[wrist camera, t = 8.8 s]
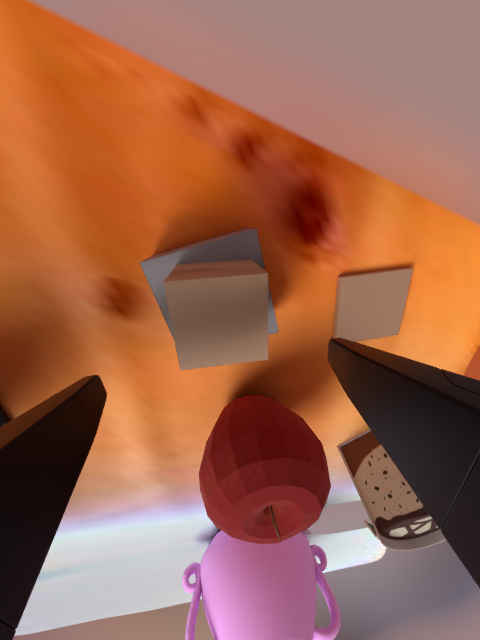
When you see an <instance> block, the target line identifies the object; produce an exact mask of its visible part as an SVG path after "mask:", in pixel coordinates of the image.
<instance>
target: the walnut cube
mask: <svg viewBox="0 0 480 640" xmlns="http://www.w3.org/2000/svg"><path fill="white" fill-rule="evenodd" d="M163 283H164V288H165V293H166V299H167V304H168V309H169V314H170V319H171V324H172V330H173V335H174V340H175V345H176V350H177V356H178V361H179V366H180V370H187V369H195V368H203V367H212V366H220V365H228V364H237V363H245V362H253V361H261V360H268V273H267V272H266V271H265V270H263V269H262V268H261V267H260V266H259V265H257V264H256V263H255V262H254V261H252V260H251V259H241V260H228V261H214V262H201V263H187V264H177V265H176V266H175V267H174V269H173V270H172V271H171V272H170V274H169V275H168V276H167V278H166V279H165V280H164V281H163Z"/></svg>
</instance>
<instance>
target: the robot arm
mask: <svg viewBox="0 0 480 640" xmlns="http://www.w3.org/2000/svg"><path fill="white" fill-rule="evenodd" d="M328 361H329V363H330V365H331V367H332V369H333V371H334V372H335V374H336V376H337V378H338V380H339V382H340V384H341V385H342V387H343V389H344V391H345V392H346V394H347V396H348V397H349V399H350V400H351V402H352V403H353V404H354V406H355V407H356V409H357V410H358V412H359V413H360V415H361V416H362V418H363V419H364V420H365V422H366V423H367V425H368V426H369V428H370V429H371V431H372V432H373V434H374V435H375V436H376V438H377V439H378V441H379V442H380V444H381V445H382V447H383V448H384V450H385V451H386V452H387V454H388V455H389V457H390V458H391V460H392V461H393V463H394V464H395V465H396V467H397V468H398V470H399V471H400V473H401V474H402V476H403V477H404V479H405V480H406V481H407V483H408V484H409V486H410V487H411V489H412V490H413V492H414V493H415V495H416V496H417V497H418V499H419V500H420V502H421V503H422V505H423V506H424V508H425V509H426V511H427V512H428V513H429V515H430V516H431V518H432V519H433V521H434V522H435V524H436V525H437V526H438V528H439V529H441V530H440V531H441V533H442V534H443V536H444V537H445V538H446V540H447V541H448V543H449V544H450V545H451V547H452V549H453V550H454V552H455V553H456V554H457V556H458V557H459V559H460V560H461V562H462V563H463V565H464V566H465V567H466V569H467V570H468V572H469V573H470V575H471V576H472V578H473V579H474V581H475V582H476V583H477V585H478V586H479V588H480V381H479V380H476V379H473V378H469V377H466V376H463V375H459V374H456V373H453V372H450V371H446V370H443V369H441V370H440V369H439V368H437V367H433V366H430V365H427V364H424V363H420V362H417V361H414V360H411V359H408V358H404V357H401V356H398V355H395V354H392V353H388V352H385V351H382V350H379V349H376V348H372V347H369V346H366V345H363V344H359V343H356V342H353V341H350V340H347V339H343V338H333V339H330V340H329V345H328ZM106 398H107V393H106V390H105V388H104V385H103V383H102V381H101V378H100V377H99V376H98V375H92V376H86V377H84V378H82V379H80V380H79V381H77V382H75V383H74V384H72V385H70V386H69V387H67V388H65V389H64V390H62V391H60V392H59V393H57V394H55V395H54V396H52V397H50V398H49V399H47V400H45V401H44V402H42V403H40V404H38V405H37V406H35V407H33V408H32V409H30V410H28V411H27V412H25V413H23V414H22V415H20V416H18V417H17V418H15V419H13V420H12V421H9V419H8V418H7V417H6V415H5V414H4V412H3V411H2V410H1V408H0V640H12V639H13V637H14V635H15V632H16V630H15V629H16V628H17V627H18V624H19V622H20V619H21V617H22V615H23V612H24V610H25V607H26V605H27V602H28V600H29V597H30V595H31V593H32V590H33V588H34V585H35V583H36V580H37V578H38V576H39V573H40V571H41V568H42V566H43V563H44V561H45V558H46V556H47V554H48V551H49V549H50V546H51V544H52V541H53V539H54V536H55V534H56V532H57V529H58V527H59V524H60V522H61V519H62V517H63V515H64V512H65V510H66V507H67V505H68V502H69V500H70V497H71V495H72V493H73V490H74V488H75V485H76V483H77V480H78V478H79V475H80V473H81V471H82V468H83V466H84V463H85V461H86V458H87V456H88V454H89V451H90V449H91V446H92V444H93V441H94V438H95V436H96V433H97V429H98V426H99V423H100V419H101V416H102V412H103V409H104V406H105V402H106Z"/></svg>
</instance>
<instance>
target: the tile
mask: <svg viewBox="0 0 480 640" xmlns="http://www.w3.org/2000/svg"><path fill="white" fill-rule="evenodd" d="M412 271H413V268H409V267H406V268H398V269H391V270H383V271H376V272H368V273H360V274H353V275H345V276H338V283H337V295H336V307H335V319H334V330H333V338H343V339H347V340H350V341H353V342H355V341H362V340H368V339H375V338H381V337H387V336H394V335H398V334H399V330H400V325H401V321H402V316H403V312H404V307H405V303H406V298H407V293H408V289H409V284H410V280H411V275H412Z"/></svg>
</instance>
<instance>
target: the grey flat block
mask: <svg viewBox="0 0 480 640" xmlns="http://www.w3.org/2000/svg"><path fill="white" fill-rule="evenodd" d="M241 259H251V260H252V261H254V262H255V263H256V264H257V265H259V266H260V267H261V268H262V269H263V270H265V266H264V261H263V257H262V252H261V247H260V243H259V238H258V233H257V229H255V228H245V229H241V230H238V231H235V232H231V233H228V234H224V235H221V236H217V237H214V238H211V239H207V240H204V241H200V242H197V243H194V244H190V245H187V246H183V247H180V248H176V249H173V250H170V251H166V252H163V253H159V254H156V255H152V256H151V257H149V258H147V259H145V260H144V261H142V262H140V265H141V267H142V269H143V272H144V274H145V276H146V278H147V280H148V283H149V285H150V287H151V289H152V292H153V294H154V296H155V298H156V300H157V303H158V305H159V307H160V309H161V312H162V314H163V316H164V318H165V320H166V323H167V325H168V327H169V329H170V332H171V334H172V336H173V338H174V335H173V330H172V324H171V319H170V314H169V309H168V304H167V299H166V293H165V288H164V283H163V281H164V280H165V279H166V278H167V276H168V275H169V274H170V272H171V271H172V270H173V269H174V267H175V266H176V265H177V264H187V263H201V262H214V261H228V260H241ZM277 332H279V331H278V327H277V322H276V317H275V313H274V308H273V303H272V299H271V294H270V289H269V285H268V335H270V334H273V333H277Z"/></svg>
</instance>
